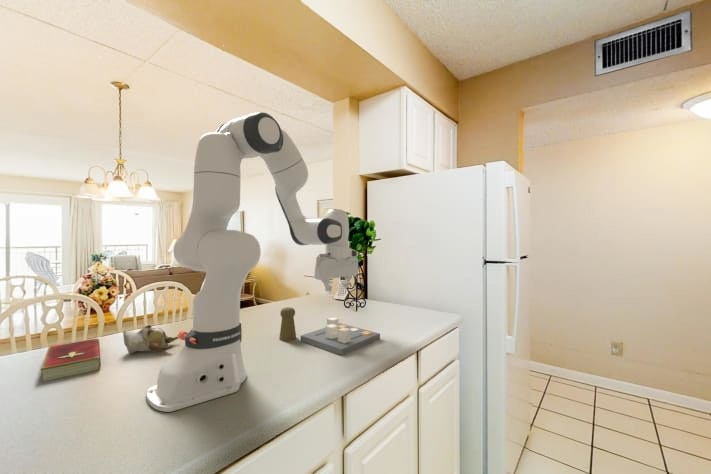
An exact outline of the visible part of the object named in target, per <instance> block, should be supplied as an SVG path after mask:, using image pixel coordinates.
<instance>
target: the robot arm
mask: <svg viewBox="0 0 711 474" xmlns="http://www.w3.org/2000/svg"><path fill="white" fill-rule="evenodd" d="M257 157H260V158H261V159H262V160H263V161H264V162H265V165H266V166H267V168H268V170H269V173H270V175H271V177H272V178H273V181H274V184H275V187H274V188H275V189H274V191H275V196H276V197H277V200H278V203H279V204H280V207H281V210H282V212H283V215H284V216H285V217H284V218H285V219H286V222H287V224H288V227H289V233H290V236H291V239H292V240H293V242H294V243H295V244H296V245H298V246H310V245H313V246H314V245H316V246H317V245H318V246H319V245H323V246H324V245H325V253H319V255H317V256H316V259H315V261H316V262H315V266H314V278H315V279H316V280H319V281H322V283H323V285H324V287H325V288H324V290H325V292H332V286H331V285H330V284H329V283H330V280H331V279H337V278H344V279H345V280H344V282H343V283H342V287H343V289H347V288H348V289H349V287H350V282H351V279H352V276H357V274H358V272H359V259H358V256H359V251H358V250H355V249H352V248H351V247H350V243H349V235H350V224H349V223H350V222H349V216H348V213H347V212H346V211H345V210H343V209H338V208H337V209H336V208H332V209H331V208H330V209H328V210H327V211H326V213H324V215H321V216H319V217H313V218H312V217H306V216H305V215H304V214H303V212H302V209H301V207H300V204H299V202H298V200H297V199H298V198H297V193H298V192H299V191H300V190H301V189H302V188H303V187H305V185H306V183H307V181H308V178H309V170H308V167H307V164H306V163H305V161H304V159H303V157H302V155H301V153H300V151H299V149H298V147H297V146H296V144H295V143H294V141H293V139H292V138H291V136H289V134H288V133H287V131H285V130H283V129H281V126H280V124H279V123H278V121H277V119H275V118H274V117H273V116H272V115H271V114H270V113H267V112H261V111H259V112H258V111H257V112H252V113H249V114H248V115H243V116H239V117H235V118H233V119H232V120H229V121H228V122H225V123H223V124H222V125H220V126H219V127H218V128H217V129H216V131H215V132H214V131H213V132H208V133H205V134H203V135H202V136H201V137H200V138H199V140H198V142H197V146H196V152H195V158H194V167H193V196H192V204H191V205H192V206H191V210H190V214H189V217H188V220H187V223H186V225H185V229H184V231H183V232H182V234H181V235H180V236H179V237H178V238H177V240H175V243H174V245H173V255H174V258H175V261H176V262H177V264H179V265H180V266H182V267H184V268H187V269H189V270H192V271H194V272H204V273H205V278H204V282H203V285H202V287H201V289H200V290H199V291H197V292H196V293H195V295H194V296H193V298H192V328H191V329H190V330H189V332H186V331H185V330H181V331H179V332H178V333H177V336H176V337H178V339H180V341H184V346H183V347H181V348H180V349H179V351H177V352H176V353H175V354H174V355H172V357H171V358H169V360H167V361H166V362H165V363H164V364H163V365H162V366H161V367H160V369H159V373H158V376H157V382H156V384H155V385H153V386H152V385H151V386H150V387H149V388H148V389H147V390H146V392H145V400H146V402H147V403H148V404H149V406H151V408H153V409H154V410H157V411H160V412H163V413H164V412H165V413H166V412H167V413H169V412H174V411H177V410H181V409H185V408H188V407H191V406H194V405H198V404H201V403H204V402H207V401H211V400H215V399H216V398H221V397H224V396H227V395H231V394H234V393H236V392H238V391H239V390H240V387H241V385H242V384H243V382H245V380H246V379H247V375H248V374H247V372H246V369H245V365H244V360H243V354H242V345H241V344H242V338H243V336H242V335H243V334H242V333H243V331H242V323H241V318H240V316H241V314H240V313H241V309H240V308H241V295H242V290H243V287H244V283H245V282H246V278H247V277H248V275H249V273H251V271H252V270H254V269H255V268H256V266H257V265H258V263H259V261H260V258H261V246H260V243H259V241H258V239H257V238H256V237H255V236H254V235H252V234H251V233H248V232H244V231H242V230H237V229H228V226H229V222H230V221H231V219H232V217H233V215H235V214H236V213H237V212H238V210H239V209H240V206H241V163H242V160H243V159H244V160H245V159H253V158H257Z"/></svg>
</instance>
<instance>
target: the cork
mask: <svg viewBox="0 0 711 474" xmlns="http://www.w3.org/2000/svg"><path fill="white" fill-rule="evenodd" d="M279 314H280V317H281V323H280V331H279V340H280V341H283V342H291V341H294V340H296V339H297V333H296V326H295V318H294V317H295V315H296V310H295V308H294V307H284V308H281V310H280V313H279Z"/></svg>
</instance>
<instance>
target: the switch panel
mask: <svg viewBox="0 0 711 474" xmlns="http://www.w3.org/2000/svg"><path fill="white" fill-rule="evenodd" d="M344 327H345V328H348V329H351V341H350V342H347V343H345V344H344V343H341V342H338V337H337V338H334V339H329V338H325V327H324V328H320V329H317V330H314V331H310V332H308V333H304V334H302V335H300V342H302V343H304V344H307V345H311V346H313V347H315V348H319V349H322V350H325V351H328V352H330V353H333V354H336V355H340V356H345V355H347V354H349V353H351V352H354V351H355V350H358V349H360V348H363V347H365V346H367V345H370V344H372V343H375V342H377V341H379V340H381V333H379V332H375V331H372V330H367V329H363V328H360V327H356V326H352V325H348V324H346V323H341V322H340V323H339V322H338V329H341V328H344Z"/></svg>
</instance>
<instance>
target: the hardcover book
mask: <svg viewBox="0 0 711 474" xmlns="http://www.w3.org/2000/svg"><path fill="white" fill-rule="evenodd" d="M100 348H101V346H100V339H99V338H98V337H96V338H90V339H85V340H77V341H72V342H67V343H61V344H53V345H49V346H48V348H47V350H46V351H47V352H46V353H45V357H44V359H43V362H42V364H41V367H40V371H42V381H43V382H46V381H51V380H55V379H59V378H65V377H69V376H73V375H77V374H78V375H79V374H83V373H87V372H93V371H97V370H98V371H100V370H101V365H102V362H101V349H100Z"/></svg>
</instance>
